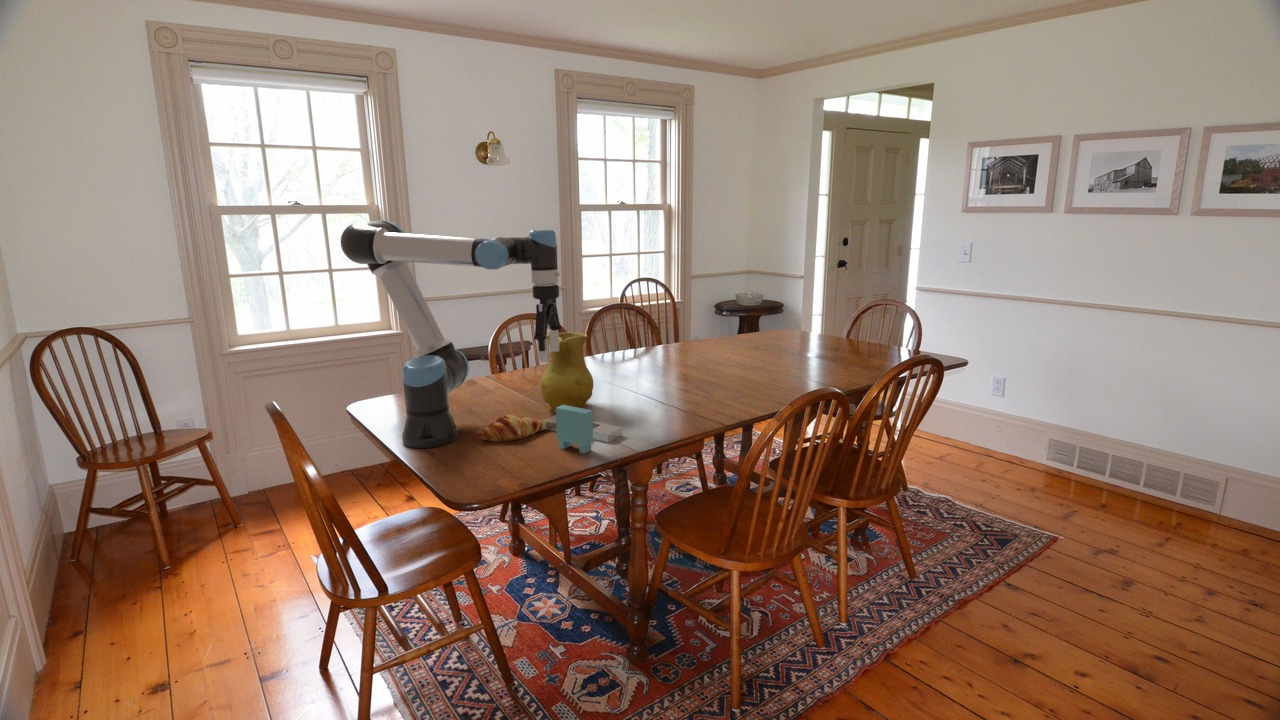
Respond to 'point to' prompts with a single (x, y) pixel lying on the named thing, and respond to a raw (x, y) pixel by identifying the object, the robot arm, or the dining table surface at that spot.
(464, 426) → the dining table surface
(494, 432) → the croissant
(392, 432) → the dining table surface
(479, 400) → the dining table surface
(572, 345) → the pitcher
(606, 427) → the rail
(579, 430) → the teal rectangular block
